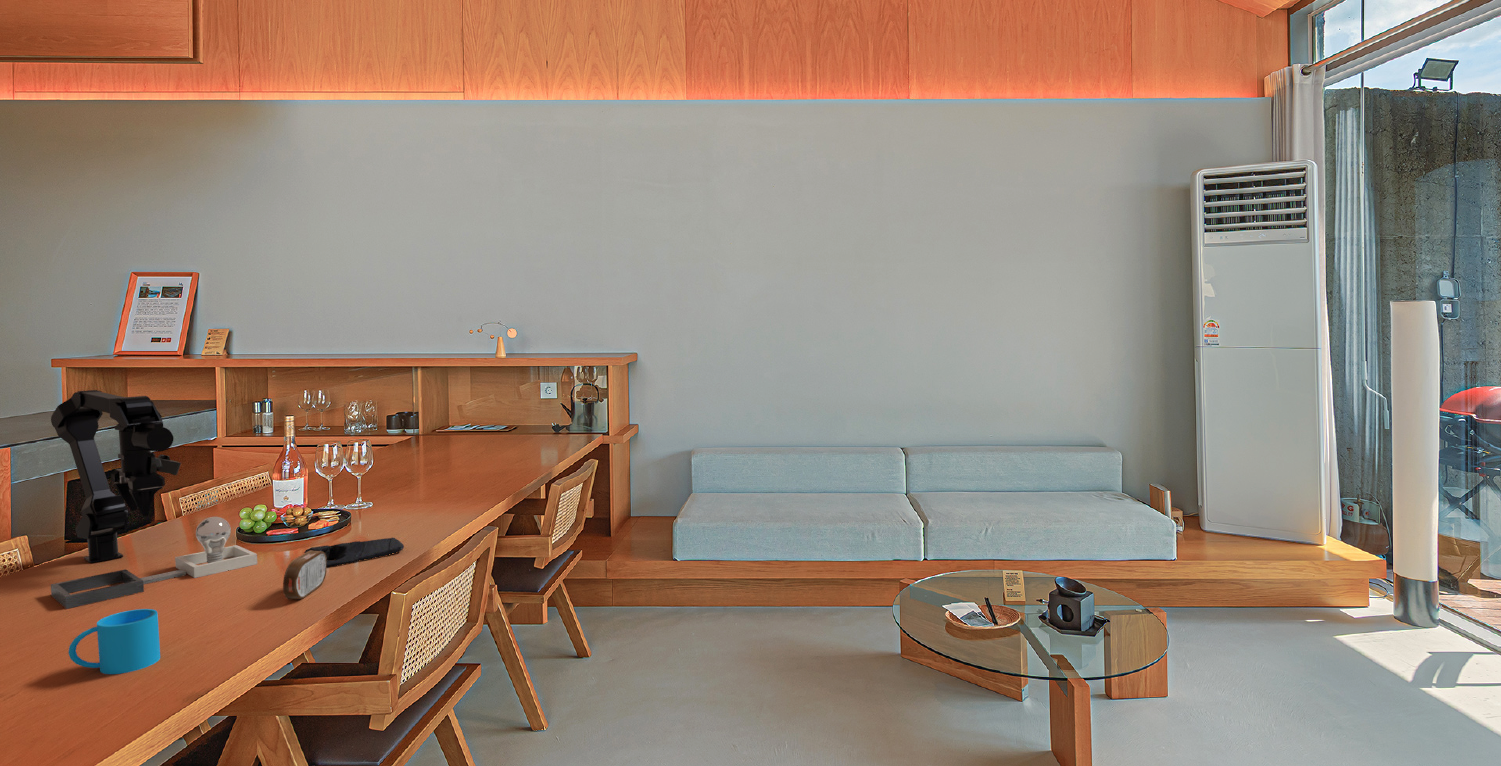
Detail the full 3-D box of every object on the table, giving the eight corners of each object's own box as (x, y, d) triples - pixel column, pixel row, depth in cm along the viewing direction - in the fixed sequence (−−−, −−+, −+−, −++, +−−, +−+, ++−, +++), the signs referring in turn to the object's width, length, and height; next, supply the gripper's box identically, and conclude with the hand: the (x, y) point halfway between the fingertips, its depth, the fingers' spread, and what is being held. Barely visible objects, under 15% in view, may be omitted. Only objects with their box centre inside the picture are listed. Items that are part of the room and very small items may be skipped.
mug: (161, 650, 140) (158, 605, 139) (159, 666, 133) (156, 619, 133) (73, 667, 133) (70, 620, 132) (66, 685, 126) (62, 635, 126)
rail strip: (134, 582, 177) (134, 579, 177) (181, 572, 184) (181, 569, 184) (138, 585, 175) (138, 581, 175) (186, 575, 182) (185, 571, 182)
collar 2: (175, 567, 188) (175, 557, 188) (237, 554, 198) (236, 544, 198) (194, 577, 180) (193, 567, 180) (257, 564, 190) (256, 554, 190)
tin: (316, 581, 177) (314, 545, 176) (330, 581, 177) (328, 544, 176) (282, 605, 162) (280, 565, 161) (298, 605, 162) (296, 565, 161)
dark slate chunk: (408, 557, 197) (408, 538, 196) (308, 573, 184) (307, 553, 184) (397, 543, 209) (396, 525, 209) (302, 557, 197) (301, 539, 197)
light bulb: (231, 567, 187) (228, 518, 187) (195, 571, 184) (193, 521, 183) (233, 560, 193) (231, 512, 193) (199, 564, 190) (196, 515, 189)
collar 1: (51, 595, 168) (50, 584, 168) (126, 579, 179) (125, 569, 178) (66, 608, 160) (65, 596, 160) (143, 591, 171) (143, 580, 170)
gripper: (188, 448, 187) (192, 512, 188) (163, 441, 199) (167, 501, 200) (131, 454, 178) (135, 521, 180) (108, 447, 190) (112, 510, 191)
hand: (139, 513), depth 188 cm, fingers open, 9 cm apart
